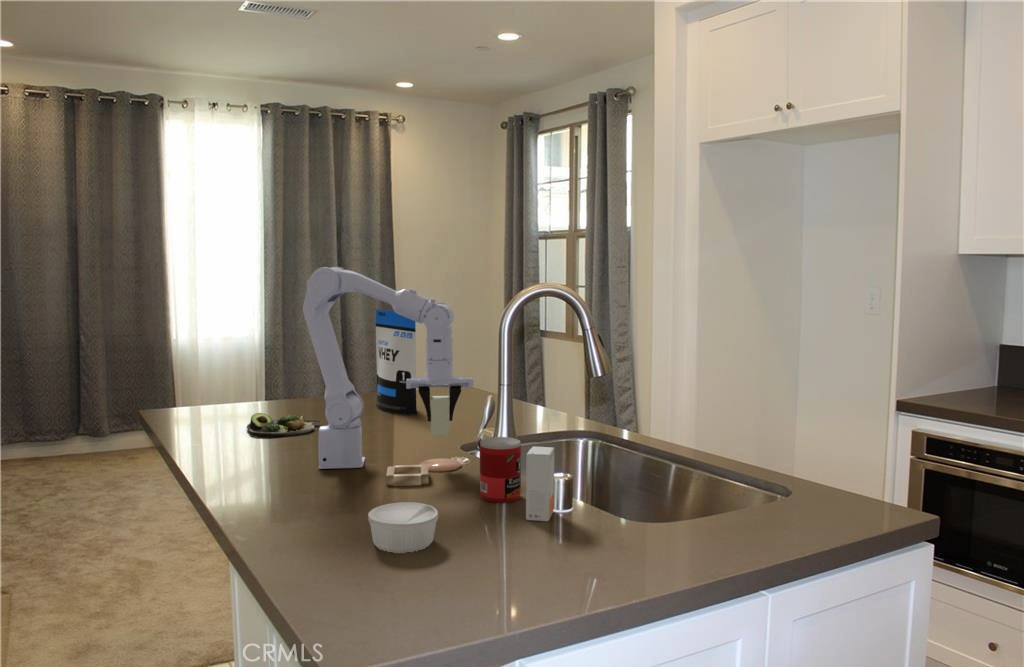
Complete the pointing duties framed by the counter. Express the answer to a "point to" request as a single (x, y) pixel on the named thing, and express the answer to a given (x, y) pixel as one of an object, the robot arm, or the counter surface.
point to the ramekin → (403, 526)
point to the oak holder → (407, 475)
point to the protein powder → (395, 362)
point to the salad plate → (278, 425)
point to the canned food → (500, 469)
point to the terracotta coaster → (441, 465)
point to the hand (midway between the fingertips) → (440, 420)
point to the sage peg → (440, 415)
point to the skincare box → (539, 483)
